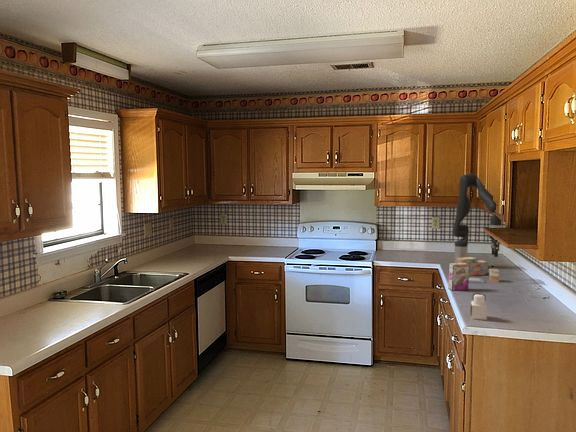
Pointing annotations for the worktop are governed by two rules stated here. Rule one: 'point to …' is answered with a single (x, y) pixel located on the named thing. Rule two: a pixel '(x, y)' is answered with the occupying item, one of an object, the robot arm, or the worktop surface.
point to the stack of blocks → (475, 265)
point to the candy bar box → (458, 276)
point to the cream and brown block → (494, 275)
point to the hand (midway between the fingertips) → (494, 255)
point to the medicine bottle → (478, 307)
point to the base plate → (476, 280)
